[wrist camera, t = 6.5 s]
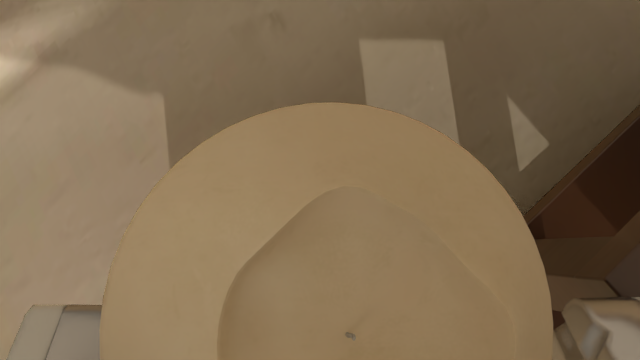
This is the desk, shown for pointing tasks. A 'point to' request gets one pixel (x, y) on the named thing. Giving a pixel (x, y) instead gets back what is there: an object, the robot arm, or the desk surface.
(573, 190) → the box
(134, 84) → the desk surface
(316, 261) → the candle
